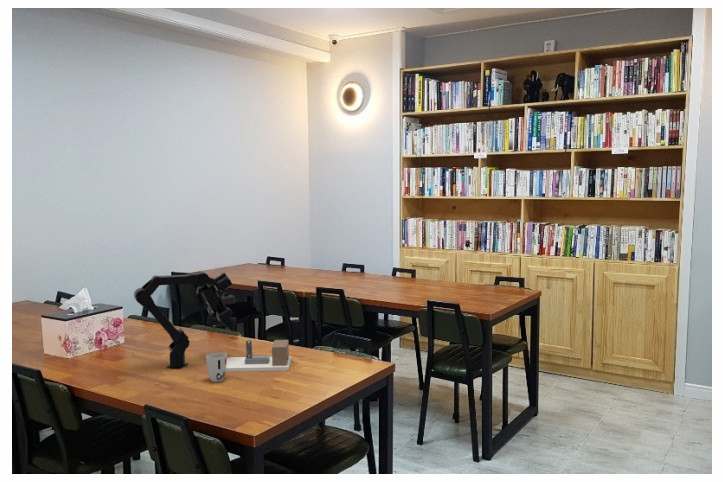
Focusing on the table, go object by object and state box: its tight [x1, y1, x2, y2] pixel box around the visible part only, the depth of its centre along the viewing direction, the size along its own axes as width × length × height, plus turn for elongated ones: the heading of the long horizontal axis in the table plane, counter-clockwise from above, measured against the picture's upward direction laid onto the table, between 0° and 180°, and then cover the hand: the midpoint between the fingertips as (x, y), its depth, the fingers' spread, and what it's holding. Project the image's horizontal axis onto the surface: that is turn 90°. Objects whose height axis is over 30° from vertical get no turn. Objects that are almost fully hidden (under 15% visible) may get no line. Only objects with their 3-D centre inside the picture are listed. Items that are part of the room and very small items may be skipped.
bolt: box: [245, 340, 270, 360], centre depth 262 cm, size 10×3×9 cm, turn 92°
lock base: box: [225, 339, 292, 373], centre depth 262 cm, size 30×16×10 cm, turn 92°
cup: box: [205, 352, 228, 383], centre depth 243 cm, size 8×8×10 cm
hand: (228, 326), depth 271 cm, fingers open, 9 cm apart
